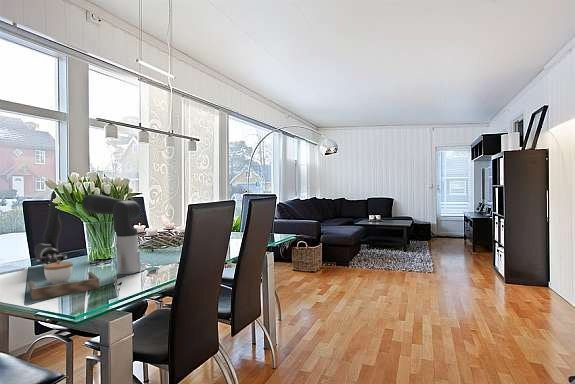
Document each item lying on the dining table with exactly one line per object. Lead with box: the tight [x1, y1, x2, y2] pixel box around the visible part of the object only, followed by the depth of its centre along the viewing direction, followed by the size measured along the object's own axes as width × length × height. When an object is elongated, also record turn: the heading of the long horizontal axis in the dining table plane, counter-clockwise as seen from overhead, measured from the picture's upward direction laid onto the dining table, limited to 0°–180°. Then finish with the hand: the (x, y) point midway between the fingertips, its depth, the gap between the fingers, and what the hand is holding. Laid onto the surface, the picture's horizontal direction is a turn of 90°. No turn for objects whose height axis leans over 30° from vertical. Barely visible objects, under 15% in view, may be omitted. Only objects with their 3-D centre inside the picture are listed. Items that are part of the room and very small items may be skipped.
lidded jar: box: [43, 260, 74, 285], centre depth 170 cm, size 11×11×9 cm
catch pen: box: [28, 271, 100, 301], centre depth 158 cm, size 22×15×4 cm
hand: (54, 261), depth 180 cm, fingers closed
